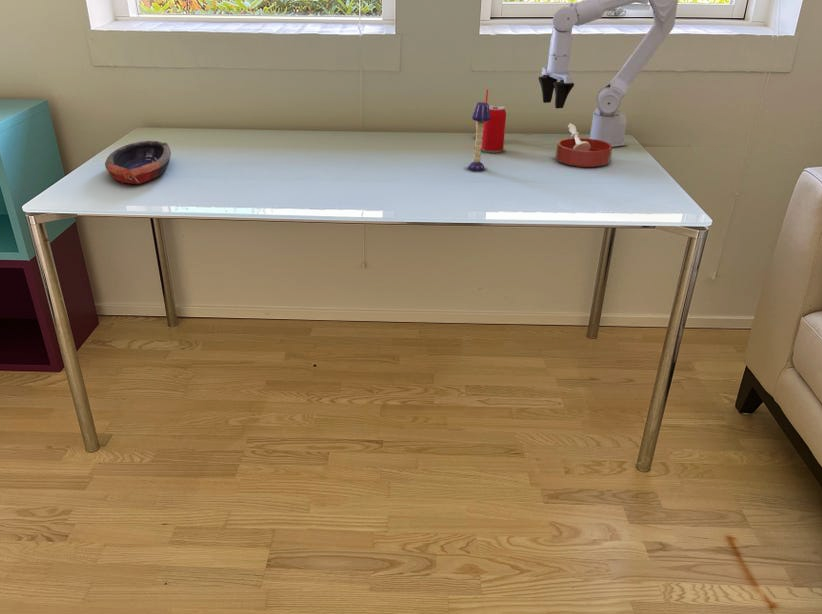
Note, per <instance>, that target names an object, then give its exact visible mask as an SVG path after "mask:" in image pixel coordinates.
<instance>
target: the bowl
mask: <svg viewBox="0 0 822 614" xmlns="http://www.w3.org/2000/svg"><path fill="white" fill-rule="evenodd" d="M579 139H580V140H581V142H583V141H586V142H588V143H589V144H590V146H591V148H590V150H589V151H580V150H573V147H574V146H575V145H576V142H575V138H572V137H571V138H563V139H560V140H559V141H558V142H557V143H556V150H555V159H556V160H557V162H558V161H559V162H560V163H563V164H565V165H568V166H572V167H578V168H596V167H601V166H605V165H607V164H609V163H610V162H611V158H612V153H613V147H612V145H611V144H610V143H607V142H605V141H601V140H597V139H590V137H589V138H588V137H579Z"/></svg>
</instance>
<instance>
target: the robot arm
mask: <svg viewBox="0 0 822 614" xmlns="http://www.w3.org/2000/svg"><path fill="white" fill-rule="evenodd" d="M634 3H637V4H641V5H647V6H648V3H649V6H650V7H651V10H652V15H653V24H652V26H651V27H650V29H649V30H648V31H647V33H646V34H645V36H644V37H642V40H640V42H639V44H638V45H637V46H636V47H635V49H634V50H633V52H632V53H631V54H630V56H628V58H627V60H626V61H625V63H623V65H622V67H621V68H620V69H619V70H618V72H617V73H616V75H615V76H614V77H613V78H611V80H610V81H609V82H608V83H607V84H606V85H605V86H603V87H601V88H600V89H599V90H598V92H597V93H596V108H595V109H593V113H592V121H591V127H590V134H589V139H597V140H601V141H605V142H607V143H610V144H611V145H612V148H614V147H615V148H616V147H624V146H626V144H625V143H624V142H625V137H626V130H627V124H628V123H627V117H626V114H625V113H623V112H622V111H620V110H619V109H620V107H621V104H622V100H623V98H624V97H625V95H626V94H627V92H628V90H629V88H630V86H631V85H632V84H633V82H634V81H635V79H636V78H637V77H638V75H639V74H640V73H641V72H642V71H643V69H644V67H645V66H646V65H647V64H648V62H649V61H650V60H651V58H652V57H653V56H654V55H655V53H656V52H657V50H658V49H659V48H660V47H661V45H662V44H663V42H664V41H665V40H666V38H667V37H668V36H669V35H670V33H671V32H672V30H673V28H674V27H675V24H676V17H677V16H676V15H677V9H678V4H679V0H581V1H578V2H575V3H574V2H573V1H572V2H570V3H568V6H561V7H559V8H558V9H557V10H556V11H555V12H554V15H553V17H552V25H553V27H552V29H551V36H550V43H549V51H548V60H547V61H548V62H547V66H546V67H545V66H544V67H543V66H542V68H541V75H542V76H538V81H539V85H540V88H541V95H542V96H541V97H542V103H543V104H549V103H551V102H552V99H553V94H554V95H555V97H554V98H555V99H554V107H555V109H564V107H565V104H566V101H567V98H568V96H569V94H570V92H571V91H572V89H573V88H574V86H575V83H574V82H573V78H574V77H573V75H572V74H571V73H570V72H569V71H568V70H569V64H570V55H571V49H572V41H573V37H572V33H573V27H574V26H577V27H580V26H582V25H585V24H589V23H591V22H594V21H597V20H600V19H602V17H603V15H604V14H605V13H606V12H608V11H612V10H615V9H618V8H621V7H624V6H629V5H632V4H634Z"/></svg>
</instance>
